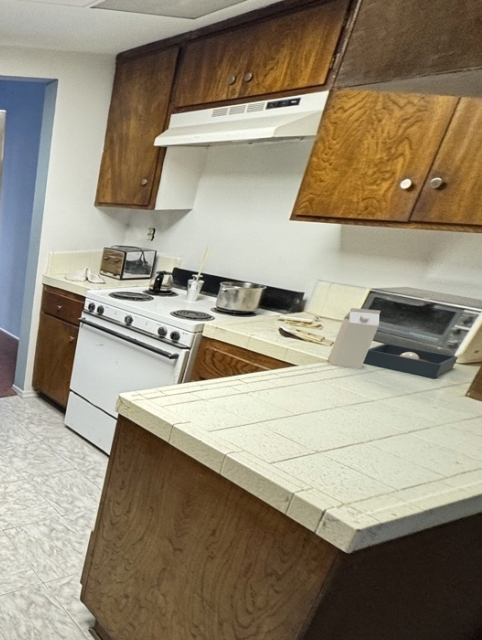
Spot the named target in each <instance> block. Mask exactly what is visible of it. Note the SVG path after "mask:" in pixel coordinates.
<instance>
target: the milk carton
mask: <svg viewBox="0 0 482 640" xmlns="http://www.w3.org/2000/svg"><path fill="white" fill-rule="evenodd" d="M380 314H381V310H376V309H367V308H357V307H356V308H354V307H351V308H350V310H349V312H348V313H346V315H345V316H344V317H343V319H342V322H341V324H340V327H339V329H338V332H337V335H336V338H335V340H334V342H333V345H332V348H331V350H330V353H329V355H328V358H327V361H328V362H329V363H330V364H331V365H332V366H335V367H343V368H350V369H356V370H361V369H362V367H363V365H364V364H363V362H364V360H365V357H366V355H367V352H368V350H369V349H370V348H371V345H372V342H373V340H374V339H375V336H376V333H377V331H378V329H379V326H380Z"/></svg>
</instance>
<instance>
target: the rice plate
mask: <svg viewBox="0 0 482 640" xmlns="http://www.w3.org/2000/svg"><path fill="white" fill-rule="evenodd" d="M397 356H402V357H407V358H412V359H417V360H422V361H426V360H423V359H419V356H418V355H417V354H415V353H413V352H405V353H403V354H401V355H397ZM427 362H428V361H427Z"/></svg>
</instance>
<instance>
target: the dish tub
mask: <svg viewBox="0 0 482 640" xmlns="http://www.w3.org/2000/svg"><path fill="white" fill-rule="evenodd" d="M405 352H413V353H415V354H417V355H418V356H419V359H423V360H426V361H422V360H417V359H412V358H407V357H402V356H397V355H401V354H403V353H405ZM458 358H459V356H455V355H451V354H446V353H445V354H444V353H441V352H440V353H439V352H434V351H428V350H423V349H418V348H413V347H409V346H403V345H398V344H397V345H396V344H391V343H386V342H385V343H382V344H379V345H376V346H373V347H370V348H369V350H368V352H367V355H366V357H365V360H364V362H363V364H362V365H367V366H368V365H369V366H373V367H377V368H382V369H387V370H390V371H395V372H400V373H404V374H409V375H412V376H418V377H422V378H427V379H431V380H436V379H438V378H439V376H441V375H443V374H445V373H446V372H448V371H450V370H452V369H453V368H454V366H455V364H456V362H457V360H458ZM427 361H428V362H427Z"/></svg>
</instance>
